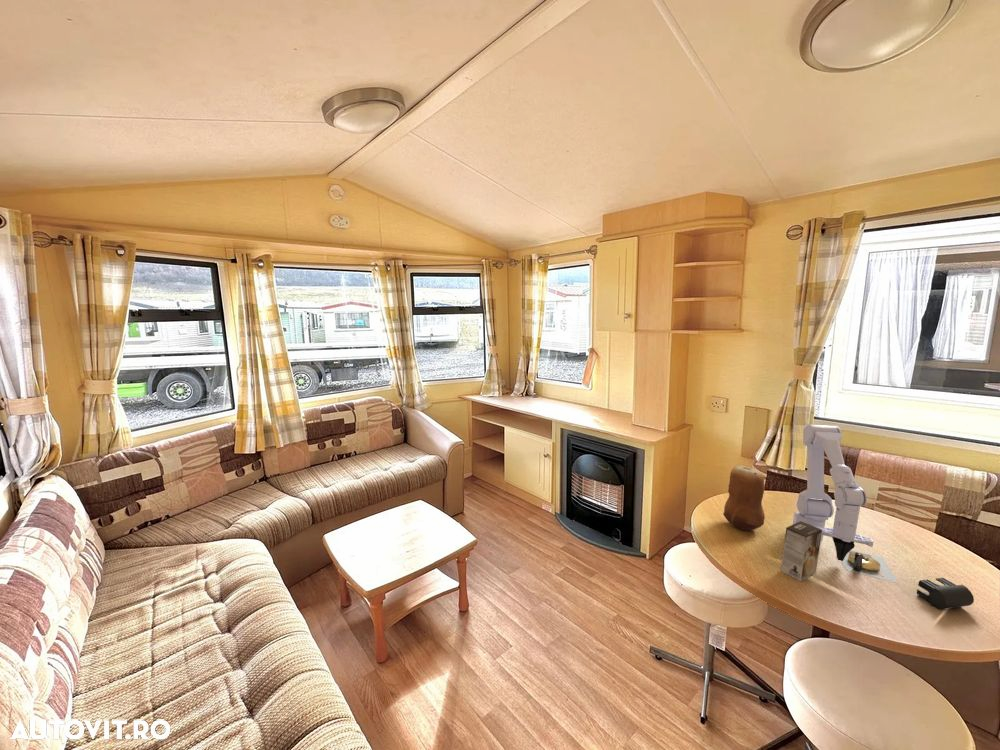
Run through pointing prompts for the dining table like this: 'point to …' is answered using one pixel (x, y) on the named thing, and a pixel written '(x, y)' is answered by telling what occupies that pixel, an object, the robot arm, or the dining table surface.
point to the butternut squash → (745, 498)
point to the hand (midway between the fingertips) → (839, 558)
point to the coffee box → (801, 550)
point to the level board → (881, 574)
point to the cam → (863, 562)
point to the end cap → (945, 594)
